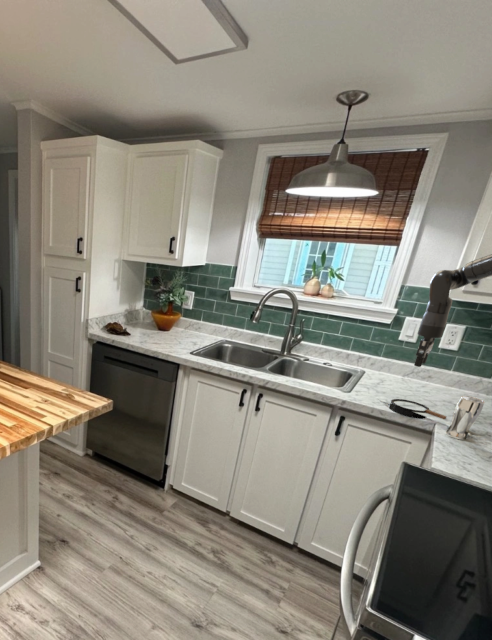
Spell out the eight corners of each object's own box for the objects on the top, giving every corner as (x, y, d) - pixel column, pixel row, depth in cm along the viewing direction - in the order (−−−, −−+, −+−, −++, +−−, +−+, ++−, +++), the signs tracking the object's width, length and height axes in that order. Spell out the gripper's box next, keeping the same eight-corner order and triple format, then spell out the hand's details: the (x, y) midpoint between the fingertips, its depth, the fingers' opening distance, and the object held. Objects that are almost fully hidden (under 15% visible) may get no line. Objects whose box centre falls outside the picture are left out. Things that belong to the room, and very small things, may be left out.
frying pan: (451, 424, 162) (455, 414, 161) (432, 428, 157) (436, 418, 156) (400, 405, 179) (403, 396, 178) (381, 408, 174) (384, 399, 172)
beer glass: (443, 429, 156) (459, 393, 150) (466, 435, 152) (484, 399, 147) (444, 436, 151) (461, 399, 145) (468, 442, 147) (486, 405, 141)
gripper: (442, 327, 149) (427, 370, 155) (448, 324, 159) (434, 364, 164) (417, 324, 154) (404, 365, 160) (424, 321, 164) (412, 360, 169)
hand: (419, 364), depth 162 cm, fingers open, 8 cm apart
